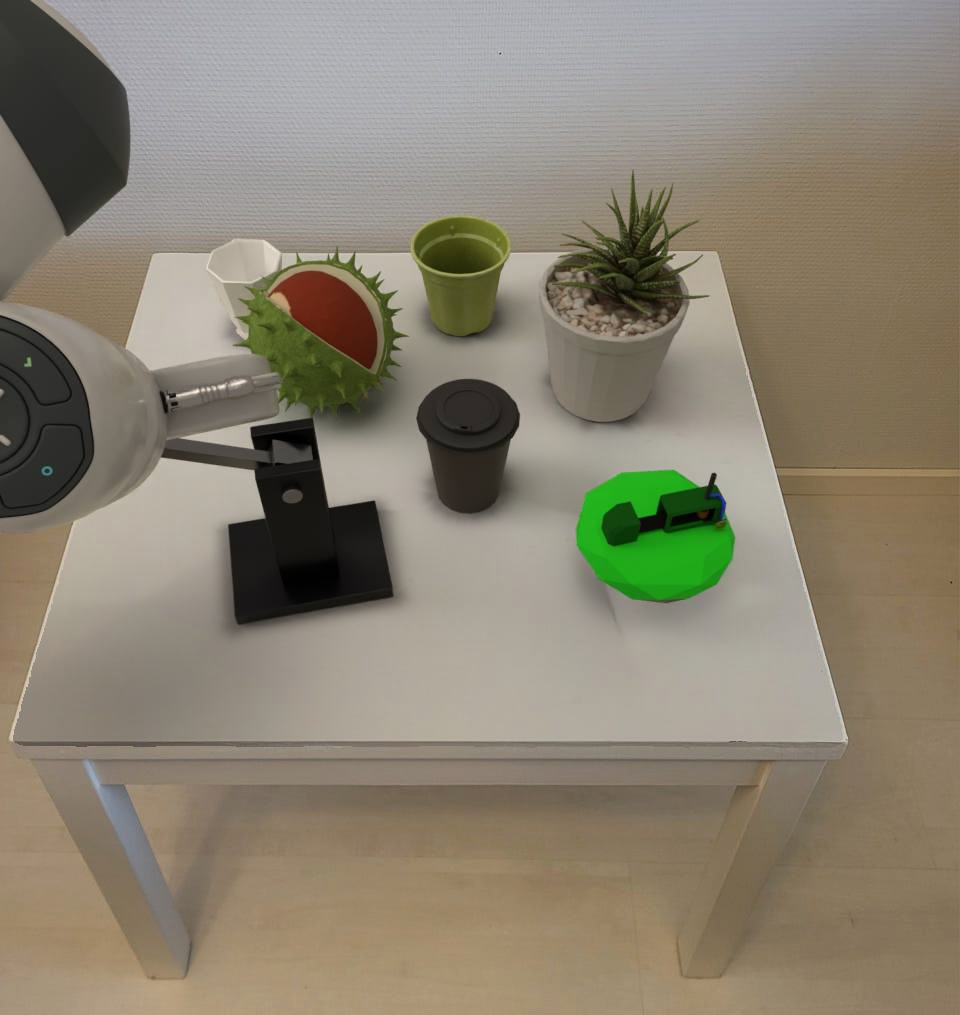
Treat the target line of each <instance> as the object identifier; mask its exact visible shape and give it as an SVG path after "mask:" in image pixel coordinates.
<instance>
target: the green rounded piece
mask: <svg viewBox="0 0 960 1015" xmlns="http://www.w3.org/2000/svg"><path fill="white" fill-rule="evenodd" d="M717 477H718V474H717V472H711V474H710V477H709V480H708V484H707V485H704V486H699V485H697V483H695V482H693V481H692V480H690V479H689V478H687V477H685V475H682V474H681V473H680V472H679V471H677V470H675V469H661V470H659V469H658V470H641V471H628V472H627V471H625V472H620V473H618V474H617V475H615V476H613V477H611V478H610V479H608V480H606V481H605V482H603V483H601V484H599V485H598V486H595V487H593V488H592V489H590V490H589V491H587V492H586V493H585V496H584V499H583V503H582V507H581V510H580V514H579V517H578V521H577V524H576V527H575V539H576V542H575V543H576V546H577V549H579V551H580V553H581V554H582V555H583V557H584V558H585V560H586V562H587V563H588V564H589V566H590V567H591V569H592V571H593V572H594V573H595V575H596V576H597V578H598V580H600V581H601V582H603V583H605V584H606V585H608V586H609V587H611V588H612V589H614V590H616V591H617V592H619V593H621V594H622V595H624V596H626V597H627V598H629V599H631V600H635V601H643V602H651V603H660V604H661V603H662V604H670V603H675V602H680V601H684V600H688V599H692V598H694V597H695V596H698V595H699V594H701V593H703V592H705V591H708V590H709V589H712V588H713V587H715V586H717V585H718V583H719V582H720V580H721V578H722V577H723V575H724V573H725V572H726V570H727V568H728V567H729V565H730V564H731V562H732V561H733V557H734V549H735V544H736V543H735V542H736V535H735V533H734V531H733V528H732V525H731V524H730V520H729V519H728V515H727V512H726V509H727V502H726V499H725V497H724V495H723V494H722V492H721V491H720V488H719V487H718V485H717V484H716V480H717Z"/></svg>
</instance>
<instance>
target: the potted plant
mask: <svg viewBox="0 0 960 1015" xmlns="http://www.w3.org/2000/svg"><path fill="white" fill-rule="evenodd" d="M630 178H631V179H630V195H629V214H628V216H629V217H628V228H627V225H626V223H625V220H624V218H623V215H622V213H621V210H620V207H619V204H618V202H617V198H616V196H615V193H614V189H613V187H612V186H611V187H610V191H611V196H612V200H613V206H612V205H610V204H609V203H608V202H605V204H606V205H607V206H608V208H609V209H610V210H611V211H612V212H613V213H614V216H615V217H616V221H617V223H618V232H619V240H618V239H615V238H613V237H610V236H609V237H608V236H605V235H604V234H603V233H601V232H600V231H599V230H597V229H596V228H595V227H594V226H591V225H590V224H588V223H587V222H585V221H584V220H583V219H581V222H582V223H583V224H584V225H585V227H587V228H589V230H591V231H592V233H594V234H595V235H596V236H595V240H598V242H597V241H596V242H595V244H597V245H599V246H597V245H594V244H593V243H591V242H588V241H587V240H584V239H582V238H580V237H577V236H574V235H572V234H567V233H561V235H562V236H565V237H568V238H570V239H573V240H575V241H577V242H568V243H561V244H559V247H562V246H575V247H580V249H576V250H573V251H571V252H568V253H566V254H561V255H559V256H558V257H557V259H556V260H554V261H553V262H552V263H551V264H550V265H549V266H548V267H547V268H546V269H545V270H544V271H543V273H542V275H541V278H540V280H539V285H538V297H539V298H538V299H539V306H540V312H541V316H542V318H543V324H544V333H545V342H546V350H547V360H548V368H549V369H548V370H549V376H550V377H549V378H550V385H551V389H552V392H553V395H554V397H555V399H556V401H557V403H559V404H560V405H561V406H562V407H563V408H564V409H565V410H566V411H567V412H569V413H571V414H573V415H574V416H576V417H578V418H581V419H584V420H586V421H593V422H599V423H602V422H603V423H605V422H615V421H619V420H624V419H627V418H628V417H630V416H633V415H634V414H635V413H636V412H637V411H639V410H640V409H641V408H642V407H643V406H644V403H645V402H646V400H647V398H648V396H649V394H650V393H651V390H652V388H653V387H654V386H653V385H654V384H655V381H656V379H657V377H658V374H659V372H660V370H661V368H662V365H663V363H664V361H665V358H666V356H667V353H668V351H669V350H670V347H671V344H672V342H673V340H674V338H675V335H676V334H677V333H678V332H679V331H680V329H681V327H682V325H683V322H684V320H685V318H686V316H687V313H688V309H689V306H690V303H691V302H690V300H698V299H702V298H703V299H704V298H709V297H710V296H711V295H710V294H706V295H705V294H704V295H701V294H700V295H690V293H689V292H690V291H689V288H688V286H687V284H686V283H685V281H684V278H683V277H682V275H681V274H680V273H682V272H683V271H685V270H687V269H689V268H690V267H692V266H693V265H695V264H696V263H697V262H698V261H699V260H700V259H701V258H702V257H703V256H704V254H701V255H699V257H698V258H696V259H695V260H693V261H692V262H689V263H687V264H685V265H683V266H680V267H678V268H676V269H675V268H673V267H672V265H670V264H669V263H668V262H669V261H671V260H674V257H675V256H676V255H677V254H676V253H673V254H669V255H668V253H669V244H670V241H671V239H672V238H674V237H675V236H676V235H678V234H679V233H681V232H682V231H683V230H685V229H688V228H689V227H692V226H693V225H694V224H697V223H699V222H700V220H699V219H697V220H694V221H691V222H688V223H686V224H684V225H682V226H680V227H678V228H676V229H675V230H673V231H672V232H671V233H669V230H668V226H667V223H666V220H665V218H664V214H665V213H666V210H667V207H668V206H669V203H670V200H671V198H672V194H673V188H674V183H671V187H670V189H669V193H668V194H667V196H666V199H665V200H664V203H663V204H662V206H661V203H662V200H663V197H664V194H665V191H666V188H667V186H664V187H663V189H662V190H661V191H660V192H659V195H658V197H657V200H656V202H655V204H654V205H653V207H652V209H651V205H652V198H653V190H654V189H653V188H651V189H650V192H649V195H648V198H647V202H646V204H645V207H644V206H642V207H641V210H640V209H639V206H638V199H637V194H636V185H635V184H636V183H635V170H634V169H632V170H631V177H630ZM660 206H661V208H660ZM639 210H640V211H639ZM639 212H640V213H639ZM662 225H663V230H664V238H663V239H662V240H661V241H660V242H658V244H656V245H655V246H654V247H653V248H652V247H651V246H652V243H653V241H654V239H655V238H656V235H657V234H658V232H659V230H660V228H661V226H662ZM599 241H601V242H599ZM581 247H582V248H581ZM660 251H661V252H660Z"/></svg>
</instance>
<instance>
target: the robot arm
mask: <svg viewBox="0 0 960 1015" xmlns="http://www.w3.org/2000/svg"><path fill="white" fill-rule="evenodd" d="M128 100H129V99H128V94H127V89H126V87H125V86H124V84H123V83H122V82H121V80H120V79H119V78H118V77H117V76H116V75H115V73H114V71H113V70H112V68H111V66H110V64H109V63H108V62H107V60H106V59H105V58H104V56H103V55H102V53H100V51H99V50H98V49H97V47H96V46H95V45H94V44H93V43H92V42H91V41H90V40H89V39H88V37H87V36H86V35H85V34H84V33H82V31H81V30H80V29H79V28H77V27H76V25H75V24H73V23H72V22H71V21H70V20H68V19H67V18H66V17H65V16H64V15H63V14H62V13H60V12H59V11H58V10H56V9H55V8H54V7H53V6H51V5H50V4H48V3H47V2H45V0H0V535H27V534H35V533H39V532H44V531H45V532H46V531H50V530H53V529H56V528H59V527H63V526H66V525H69V524H70V523H73V522H77V521H78V520H80V519H83V518H85V517H87V516H89V515H91V514H92V513H95V512H97V511H98V510H100V509H103V508H105V507H107V506H109V505H111V504H113V503H115V502H117V501H119V500H121V499H123V498H124V497H126V496H128V495H129V494H131V493H132V492H134V491H135V490H137V489H138V488H139V487H140V486H141V485H142V484H144V483H145V481H146V480H147V479H148V478H149V477H150V476H151V474H152V473H153V471H155V469H156V468H157V466H158V464H159V462H160V461H161V459H162V458H161V456H162V453H163V451H164V447H165V444H166V440H171V439H176V438H181V439H182V438H185V437H189V436H190V437H191V436H195V435H199V434H205V433H208V432H213V431H218V430H222V429H227V428H232V427H236V426H241V425H247V424H250V423H255V422H260V421H265V420H270V419H272V418H275V417H277V416H278V415H279V414H280V411H281V409H280V403H278V394H277V389H280V388H281V387H282V385H281V383H282V378H281V377H279V373H277V372H276V373H271V369H270V366H269V362H268V360H267V358H266V357H264V356H262V355H258V354H252V353H241V354H232V355H225V356H217V357H211V358H208V359H202V360H197V361H191V362H187V363H183V364H177V365H171V366H167V367H162V368H156V369H151V370H150V369H149V368H148V367H147V365H146V364H145V362H143V361H142V360H141V359H140V358H139V357H137V355H136V354H134V353H133V352H132V351H130V350H129V349H127V348H126V347H124V346H123V345H121V344H119V343H117V342H116V341H114V340H112V339H110V338H108V337H106V336H104V335H103V334H101V333H99V332H97V331H95V330H94V329H93V328H91V327H89V326H87V325H85V324H83V323H82V322H79V321H77V320H75V319H72V318H70V317H67V316H65V315H63V314H60V313H57V312H54V311H51V310H47V309H44V308H40V307H36V306H31V305H26V304H22V303H16V302H7V301H5V300H6V299H7V298H8V297H9V296H10V294H12V292H13V291H14V290H15V289H16V288H17V287H18V286H19V285H20V284H21V283H22V282H23V280H24V279H25V278H26V277H28V275H29V274H30V273H31V272H32V271H33V270H34V269H35V267H37V265H38V264H39V263H40V262H41V261H42V260H43V259H44V258H45V257H46V256H47V255H48V254H49V253H50V251H51V250H52V249H53V248H54V247H55V246H56V245H57V244H58V243H59V242H60V241H61V240H62V238H63V237H64V236H65V237H67V238H68V237H70V236H71V235H73V233H75V232H76V230H78V229H79V228H81V226H83V225H84V223H86V222H87V221H88V220H89V219H90V218H91V217H93V216H94V215H95V214H96V213H97V212H98V211H100V209H101V208H102V207H104V206H105V205H106V204H107V203H108V202H110V201H111V199H113V198H114V197H115V196H117V194H118V193H120V192H121V191H122V190H123V189H124V188H125V187H126V186H127V184H128V178H129V170H130V161H131V141H132V140H131V118H130V106H129V101H128Z"/></svg>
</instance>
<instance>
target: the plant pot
mask: <svg viewBox="0 0 960 1015" xmlns="http://www.w3.org/2000/svg"><path fill="white" fill-rule="evenodd" d="M409 248H410V255H411V257H412V260H413V261H414V262H415V264H416V265H417V267H418V269H419V271H420V272H421V276H422V282H423V285H424V290H425V294H426V299H427V303H428V309H429V313H430V317H431V320H432V322H433V324H434V325H435V327H436V328H437V329H438V330H439V331H441V332H442V333H445V334H447V335H450V336H455V337H467V336H468V335H471V334H473V333H481V332H484V331H485V330H486V329H488V327H489V326H490V325H491V323H492V321H493V317H494V311H495V307H496V306H495V305H496V300H497V296H498V289H499V284H500V279H501V278H500V277H501V273H502V271H503V269H504V266H505V264H506V262H507V261H508V260H509V257H510V255H511V252H512V241H511V238H510V236H509V235H508V233H507V231H506V230H504V229H503V227H502V226H499V225H498V224H497V223H495V222H494V221H492V220H490V219H486V218H484V217H479V216H475V215H466V214H457V215H449V216H443V217H439V218H436V219H434V220H433V219H432V220H431V221H428V222H426V223H425V224H424V225H422V226H421V227H419V228H418V229H417V230H416V232H414V234H413V235H412V237H411V240H410V247H409Z"/></svg>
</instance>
